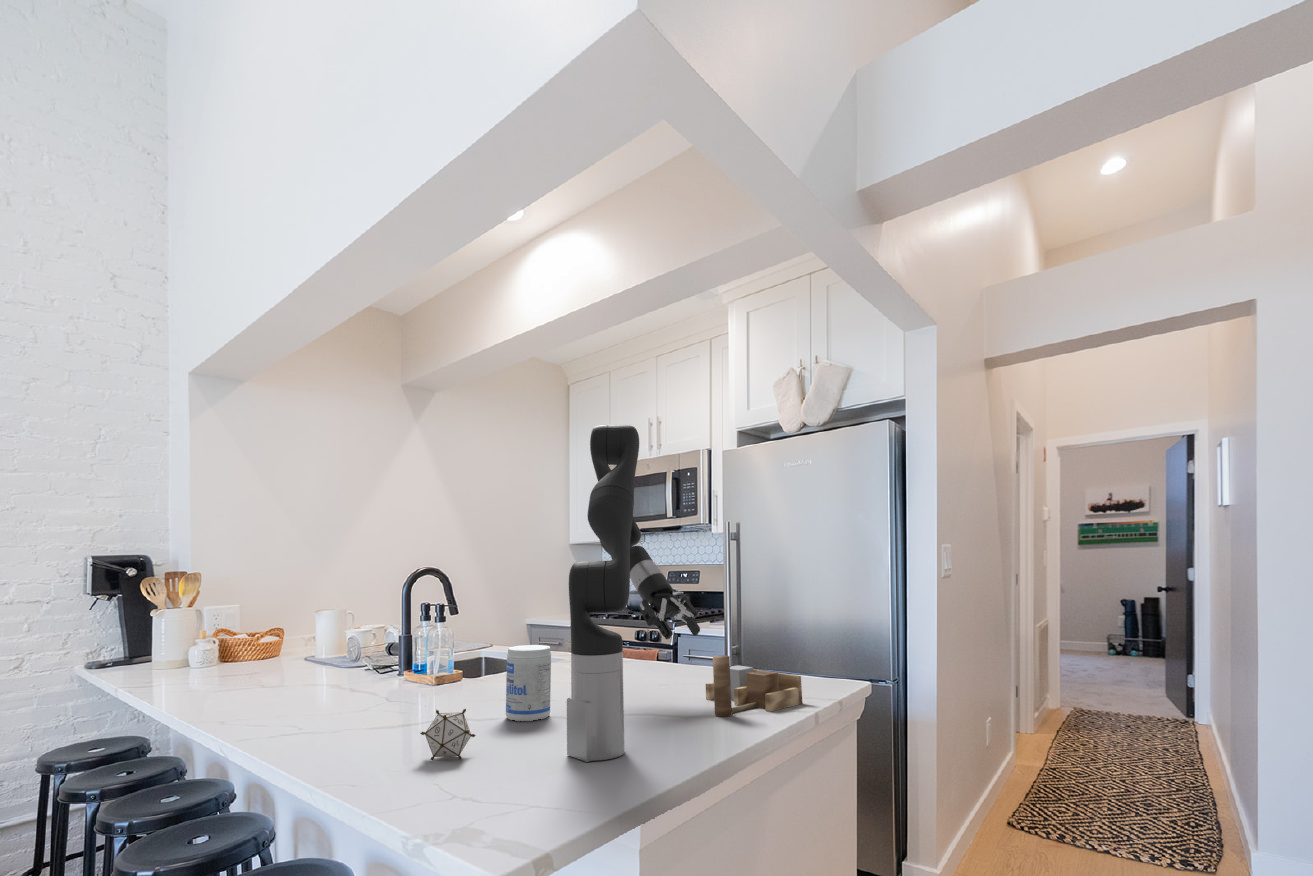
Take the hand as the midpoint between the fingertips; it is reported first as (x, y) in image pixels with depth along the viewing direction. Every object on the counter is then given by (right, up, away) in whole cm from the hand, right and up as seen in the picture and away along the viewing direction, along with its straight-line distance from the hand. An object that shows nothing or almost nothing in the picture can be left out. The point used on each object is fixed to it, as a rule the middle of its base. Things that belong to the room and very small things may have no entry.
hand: (684, 635), depth 161 cm
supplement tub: (-34, -16, -8) cm, 38 cm away
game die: (-43, -11, -38) cm, 58 cm away
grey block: (+13, -16, +5) cm, 22 cm away
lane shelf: (+16, -16, +2) cm, 23 cm away
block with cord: (+13, -14, -7) cm, 21 cm away
